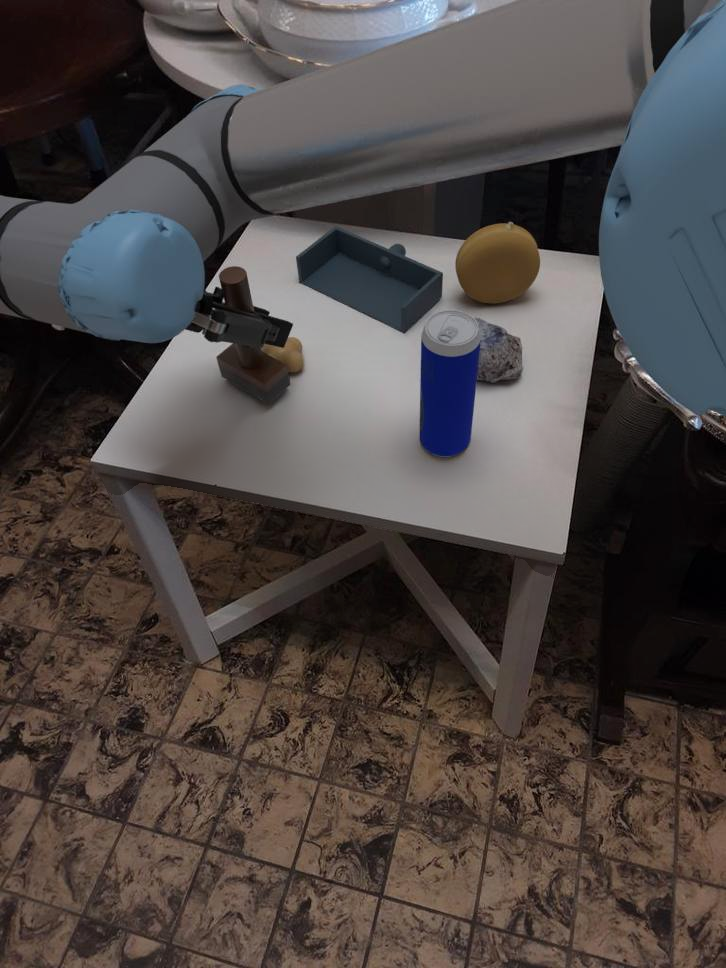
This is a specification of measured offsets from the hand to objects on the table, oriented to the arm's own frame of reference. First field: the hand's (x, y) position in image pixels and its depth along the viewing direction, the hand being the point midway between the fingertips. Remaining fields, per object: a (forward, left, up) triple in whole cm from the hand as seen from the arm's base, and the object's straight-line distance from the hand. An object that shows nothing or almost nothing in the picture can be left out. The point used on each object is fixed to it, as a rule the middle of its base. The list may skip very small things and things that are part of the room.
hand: (273, 328), depth 81 cm
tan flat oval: (-13, -23, -6) cm, 27 cm away
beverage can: (-21, -2, -6) cm, 22 cm away
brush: (0, +4, -5) cm, 6 cm away
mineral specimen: (-17, -13, -6) cm, 22 cm away
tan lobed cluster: (0, -1, -6) cm, 6 cm away
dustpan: (0, -18, -6) cm, 18 cm away
